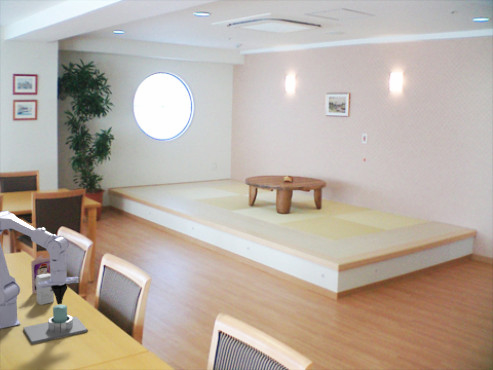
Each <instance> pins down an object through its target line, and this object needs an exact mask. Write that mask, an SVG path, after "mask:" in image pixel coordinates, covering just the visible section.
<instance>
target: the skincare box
mask: <svg viewBox="0 0 493 370" xmlns="http://www.w3.org/2000/svg"><path fill="white" fill-rule="evenodd" d="M47 280H51V274H50V273H47V274H41V275H36V289H37V293H36V302H37V304H38V305H40V306H41V305H46V304H50V303H54V301H55V294H54V292H53V290H52V288H51V287H46V288H42V289H39V288H38V283H39V282H44V281H47Z"/></svg>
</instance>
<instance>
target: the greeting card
mask: <svg viewBox="0 0 493 370" xmlns="http://www.w3.org/2000/svg"><path fill="white" fill-rule="evenodd" d="M30 264H31V265H30V267H31V287H32V291H31V292H32V295H34V294H37V289H36V275H41V274H47V273H50V256H49V257H46V258H43V254H41V255H39V256H37V258H34V260H32V261H31V262H30Z"/></svg>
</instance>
